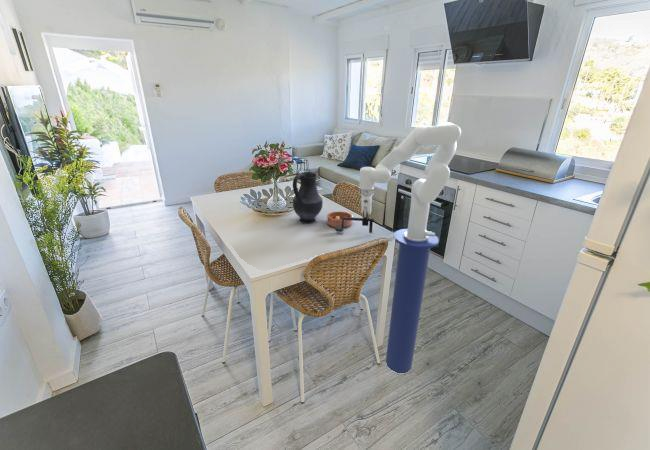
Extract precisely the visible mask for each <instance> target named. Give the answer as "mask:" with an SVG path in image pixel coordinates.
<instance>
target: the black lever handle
mask: <svg viewBox="0 0 650 450" xmlns="http://www.w3.org/2000/svg"><path fill="white" fill-rule="evenodd" d="M362 218H363V217H353V216H352V217H344V218H342V226H336V227H334V231H335V232H337V233H341V232H344V228H345V227H344V220H352V221H356V222H357V221H358V222H362ZM368 221H369V223H368V227H369V228H368V229H369V230H368V233H369V234H372V233H373V225H374V224H373V223H374V222H375V218H371V217H370V218H369V219H368Z"/></svg>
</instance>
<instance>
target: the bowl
mask: <svg viewBox="0 0 650 450" xmlns="http://www.w3.org/2000/svg"><path fill="white" fill-rule="evenodd" d="M336 216H339V217H340V220H337V219H335V217H336ZM344 217H352V218H353V215H352V213H350V212H347V211H332V212H329V213H327V215H326V223H327V225H328V226H330V227H333V228H335V227H336V226H342V218H344ZM352 224H353V220H344V228H347V227H350V226H352Z"/></svg>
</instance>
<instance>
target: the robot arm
mask: <svg viewBox="0 0 650 450" xmlns="http://www.w3.org/2000/svg"><path fill="white" fill-rule="evenodd" d="M461 137H462V130H461V127H460V126H459V125H458V124H455V123H451V122H447V121H446V122H441V123H440V124H438V125H431V126H429V125H424V124H419V125H417V126H415V128H414V129H412V131H411V132H410V133H409V134H408V135H407V136H406V137H405V138H404V139H403V140H402V141H401V142H400V143H399V144H398V145H397V146H396V147H395V148H394V149H393V150H391V151H390V152H389V153H387V154H386V156H384V157H383V158H382V160H380V161H379V162H378V164H377V165H376V166H375V167H372V166H363V167H361V168H360V169H359V185H358V186H359V187H358V195H359V196H360V197H361V199H360V200H361V201H360V202H361V203H360V210H361V215H362V217H361V218H362V221H361V225H362V226H363V227H369V222H370V221H368V219H369V215H371V214H372V205H373V196H374V195H375V183H377V184H387V183H389V182H390V181H391V178H392V174H391V172H392V170H394V168H396V167H397V166H398V165H399V164H401V163H403V162H406V161H409V160H410V159H412V157H413V156H414V155H415V154H416V153H417V152H418V151H419V150H420V149H421V148H422V147H423V146H425V147H429V146H430V147H431V146H432V147H433V146H437V148H436V150H435V152H434V153H433V155H432V157H431V158H430V160H429V161H428V163H427V164H426V165H425V168H424V174H425V176H426V178H419V179H417V180H415V181H414V182H413V183H412V185H411V190H410V191H411V192H410V208H409V214H408V222H407V223H408V224H407V229H408V230H407V232H405V233H404V237H405V238H406V239H408V240H411V241H415V242H423V241H426V240H428V236H435V235H436V232H433V231H432V230H430V231H429V230H427V229H428V228H427V227H428V221H429V213H430V207H431V203H432V202H434V201H435V200H436V199H437V198H438V197H439V195H440V194H441V192H442V191H443V189H444V187H445V186H446V184H447V183H448V181H449V179H450V178H451V177H450V176H451V170H450V167H449V165H450V163H451V161H452V160H453V158H454V156H455V155H456V151H457V145H458V143H457V141H459V140H460V138H461Z"/></svg>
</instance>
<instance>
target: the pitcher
mask: <svg viewBox="0 0 650 450" xmlns="http://www.w3.org/2000/svg"><path fill="white" fill-rule="evenodd" d="M318 176H319V173H317V172H314V171H302V172H299V173H297V174H296V175H295V176H294V178H293V181H292V189H293V193H294V197H293V198H292V207H293V210H294V213H295V214H296V216H298V217H299V222H300V223H303V224H313V223H315V222H316V220H317V219H316V217H317V216H318V215H319V214H320V213H321V212H322V209H323V204H324V203H323V202H324V201H323V198H322V197H321V195H320V194H319V191H318V187H317V178H318ZM299 180H300V186H299V188H298V181H299Z"/></svg>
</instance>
